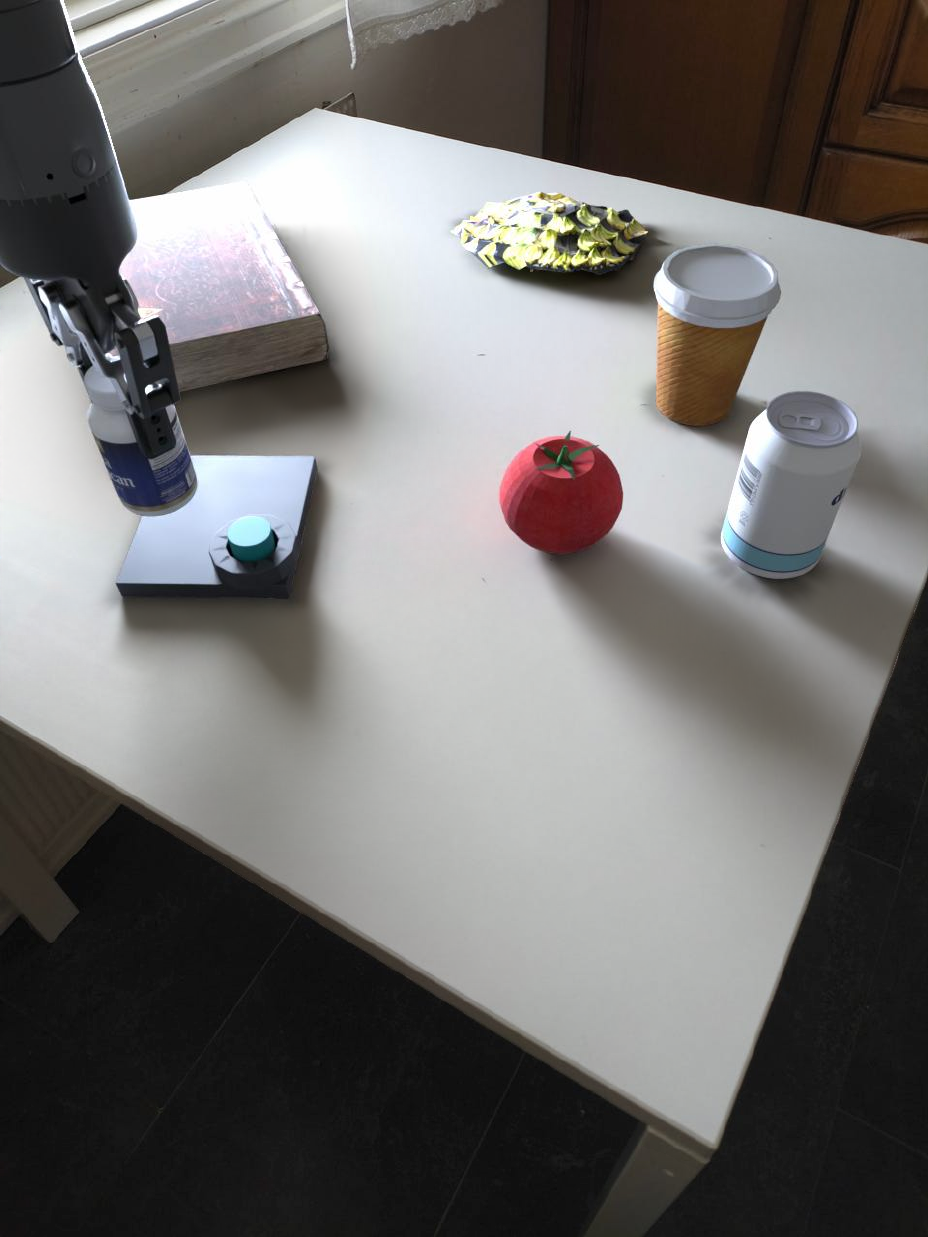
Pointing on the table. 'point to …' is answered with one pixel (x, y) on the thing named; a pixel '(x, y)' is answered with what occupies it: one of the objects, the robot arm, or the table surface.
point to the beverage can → (790, 484)
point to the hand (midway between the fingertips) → (136, 429)
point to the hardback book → (221, 286)
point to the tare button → (251, 539)
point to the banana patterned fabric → (552, 234)
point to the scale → (224, 532)
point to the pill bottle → (138, 455)
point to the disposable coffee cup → (709, 327)
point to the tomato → (561, 494)
